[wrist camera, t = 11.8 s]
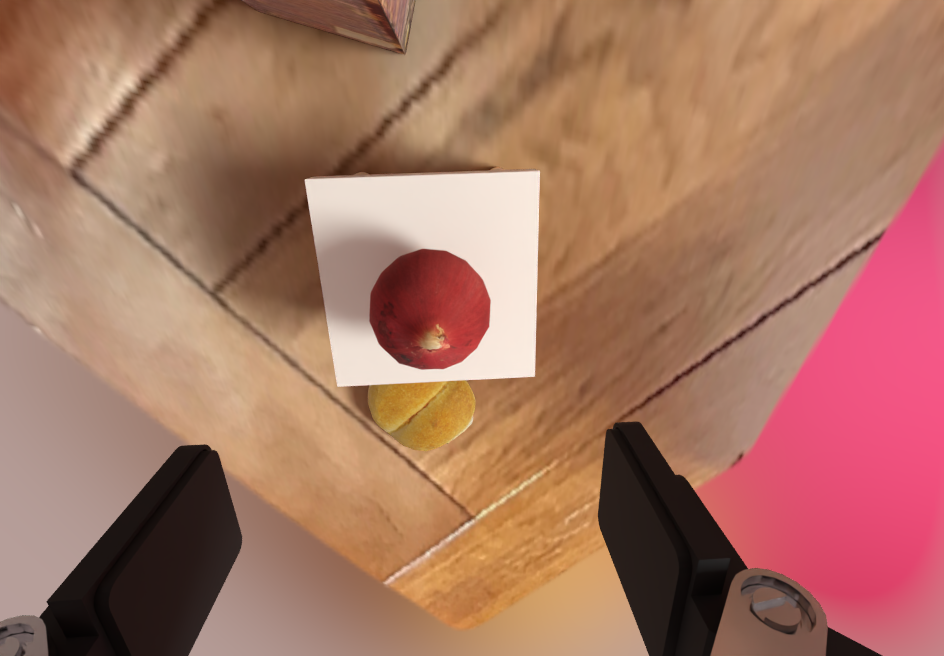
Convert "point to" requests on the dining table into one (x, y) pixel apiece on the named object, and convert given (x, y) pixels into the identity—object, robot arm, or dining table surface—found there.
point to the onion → (429, 309)
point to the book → (349, 18)
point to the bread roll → (422, 411)
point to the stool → (428, 227)
